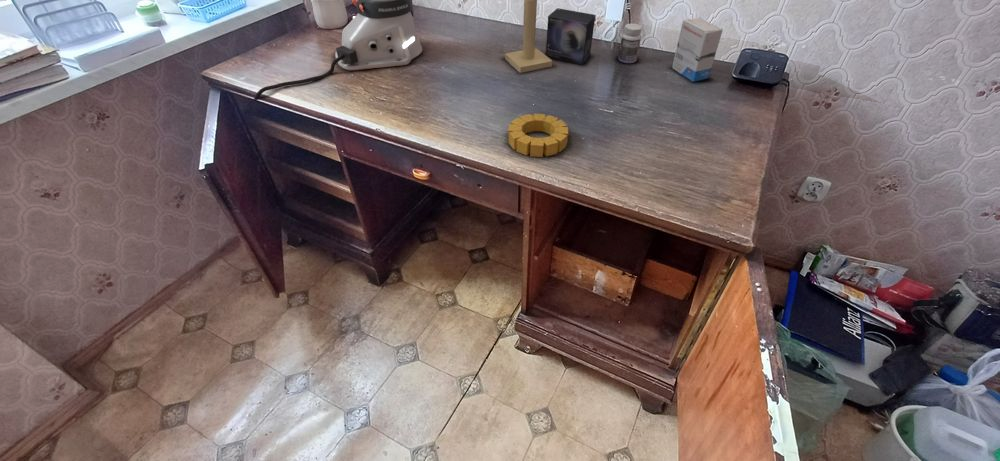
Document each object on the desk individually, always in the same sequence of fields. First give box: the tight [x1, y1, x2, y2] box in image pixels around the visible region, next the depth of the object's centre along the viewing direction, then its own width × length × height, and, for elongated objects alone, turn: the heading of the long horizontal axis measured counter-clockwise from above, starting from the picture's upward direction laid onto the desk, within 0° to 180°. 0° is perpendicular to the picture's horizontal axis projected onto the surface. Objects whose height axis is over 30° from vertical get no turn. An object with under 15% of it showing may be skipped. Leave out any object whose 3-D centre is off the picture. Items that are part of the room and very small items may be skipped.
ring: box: [507, 113, 569, 158], centre depth 92 cm, size 12×12×3 cm
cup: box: [310, 0, 349, 30], centre depth 136 cm, size 10×10×10 cm
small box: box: [545, 7, 597, 65], centre depth 118 cm, size 11×6×10 cm, turn 62°
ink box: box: [671, 17, 724, 83], centre depth 110 cm, size 9×5×12 cm, turn 21°
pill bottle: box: [617, 23, 643, 64], centre depth 117 cm, size 5×5×8 cm
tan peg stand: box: [504, 0, 553, 74], centre depth 114 cm, size 9×9×16 cm
